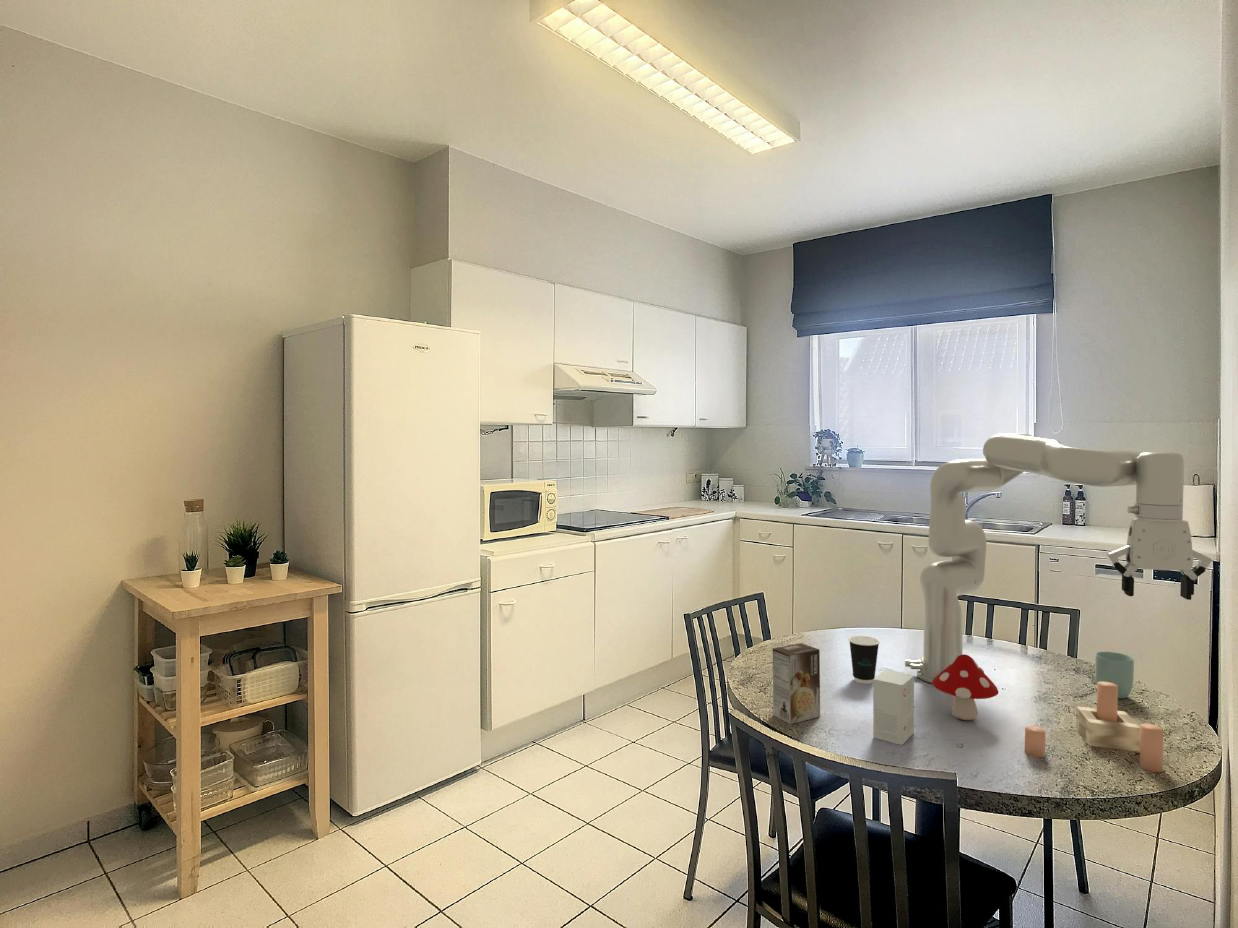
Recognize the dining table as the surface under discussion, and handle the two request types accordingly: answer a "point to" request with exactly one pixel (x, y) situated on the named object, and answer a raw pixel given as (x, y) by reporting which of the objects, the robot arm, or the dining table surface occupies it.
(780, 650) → the coffee box
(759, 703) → the dining table surface
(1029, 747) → the short pin
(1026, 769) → the dining table surface
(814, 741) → the dining table surface
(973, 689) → the decorative mushroom
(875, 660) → the dixie cup
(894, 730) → the small box
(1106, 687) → the long pin
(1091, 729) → the bore block
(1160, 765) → the medium pin
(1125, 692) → the cup
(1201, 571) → the robot arm
